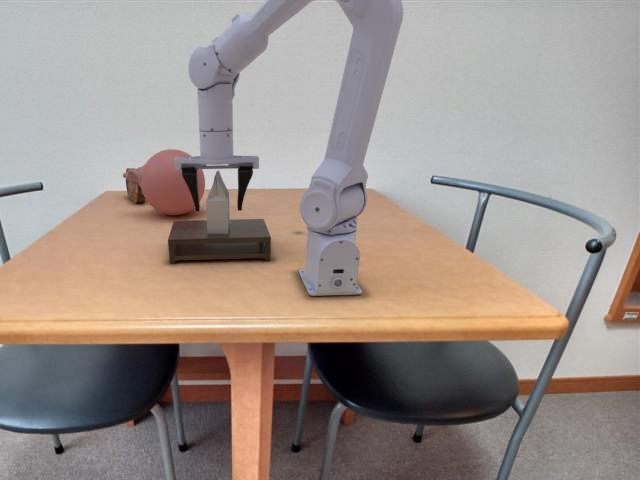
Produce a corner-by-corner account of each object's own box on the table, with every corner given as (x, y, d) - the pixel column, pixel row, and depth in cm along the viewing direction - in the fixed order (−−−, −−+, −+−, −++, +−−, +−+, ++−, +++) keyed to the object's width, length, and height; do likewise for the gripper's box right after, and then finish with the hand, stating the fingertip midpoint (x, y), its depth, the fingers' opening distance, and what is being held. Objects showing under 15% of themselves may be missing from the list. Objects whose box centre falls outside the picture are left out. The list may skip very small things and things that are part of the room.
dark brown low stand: (270, 260, 78) (270, 236, 76) (169, 263, 77) (167, 239, 75) (263, 240, 88) (263, 218, 87) (175, 242, 88) (173, 220, 86)
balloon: (138, 205, 116) (132, 145, 110) (211, 207, 114) (209, 145, 107) (116, 221, 103) (107, 153, 96) (199, 223, 100) (195, 154, 93)
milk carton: (229, 223, 84) (228, 170, 79) (227, 233, 78) (226, 176, 73) (210, 223, 84) (208, 170, 79) (207, 233, 78) (205, 176, 73)
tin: (126, 195, 128) (122, 165, 125) (136, 194, 129) (133, 165, 126) (137, 206, 116) (134, 173, 112) (149, 204, 117) (146, 173, 113)
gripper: (256, 127, 77) (256, 203, 83) (175, 129, 77) (180, 205, 82) (260, 131, 71) (259, 212, 77) (171, 132, 70) (177, 214, 76)
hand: (218, 209), depth 79 cm, fingers open, 7 cm apart
